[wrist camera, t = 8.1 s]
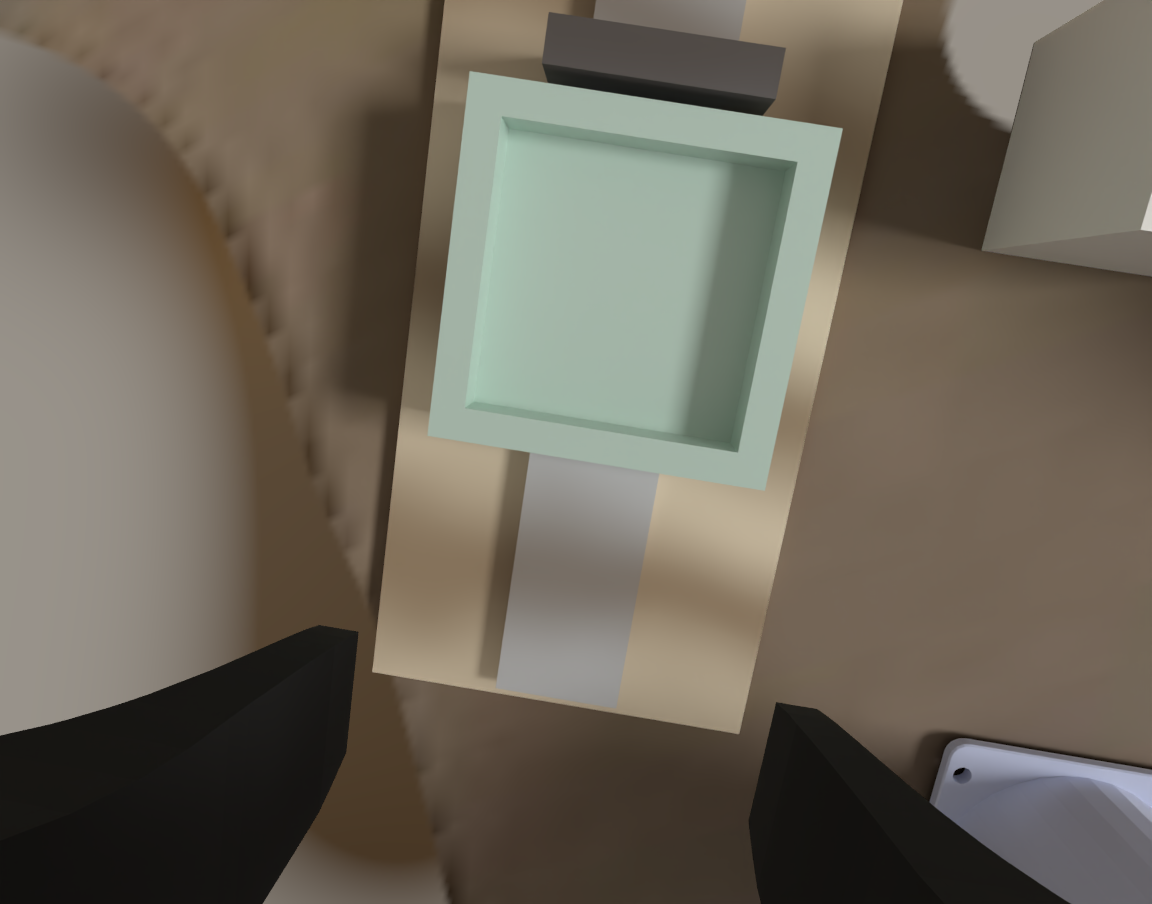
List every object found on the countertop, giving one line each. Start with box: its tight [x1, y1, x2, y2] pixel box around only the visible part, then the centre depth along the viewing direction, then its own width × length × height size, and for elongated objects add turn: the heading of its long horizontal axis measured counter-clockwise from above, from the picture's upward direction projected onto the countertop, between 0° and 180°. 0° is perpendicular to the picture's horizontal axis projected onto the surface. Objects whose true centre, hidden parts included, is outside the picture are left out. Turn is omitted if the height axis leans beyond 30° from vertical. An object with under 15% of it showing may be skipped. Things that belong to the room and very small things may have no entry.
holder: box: [427, 71, 843, 491], centre depth 18 cm, size 8×8×2 cm
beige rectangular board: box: [372, 0, 903, 734], centre depth 19 cm, size 21×11×3 cm, turn 171°
